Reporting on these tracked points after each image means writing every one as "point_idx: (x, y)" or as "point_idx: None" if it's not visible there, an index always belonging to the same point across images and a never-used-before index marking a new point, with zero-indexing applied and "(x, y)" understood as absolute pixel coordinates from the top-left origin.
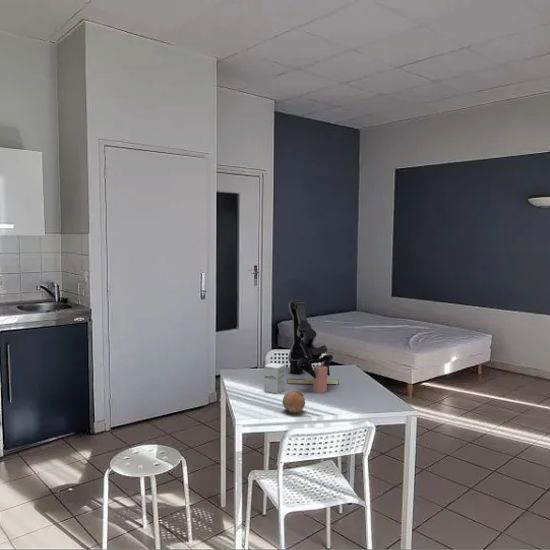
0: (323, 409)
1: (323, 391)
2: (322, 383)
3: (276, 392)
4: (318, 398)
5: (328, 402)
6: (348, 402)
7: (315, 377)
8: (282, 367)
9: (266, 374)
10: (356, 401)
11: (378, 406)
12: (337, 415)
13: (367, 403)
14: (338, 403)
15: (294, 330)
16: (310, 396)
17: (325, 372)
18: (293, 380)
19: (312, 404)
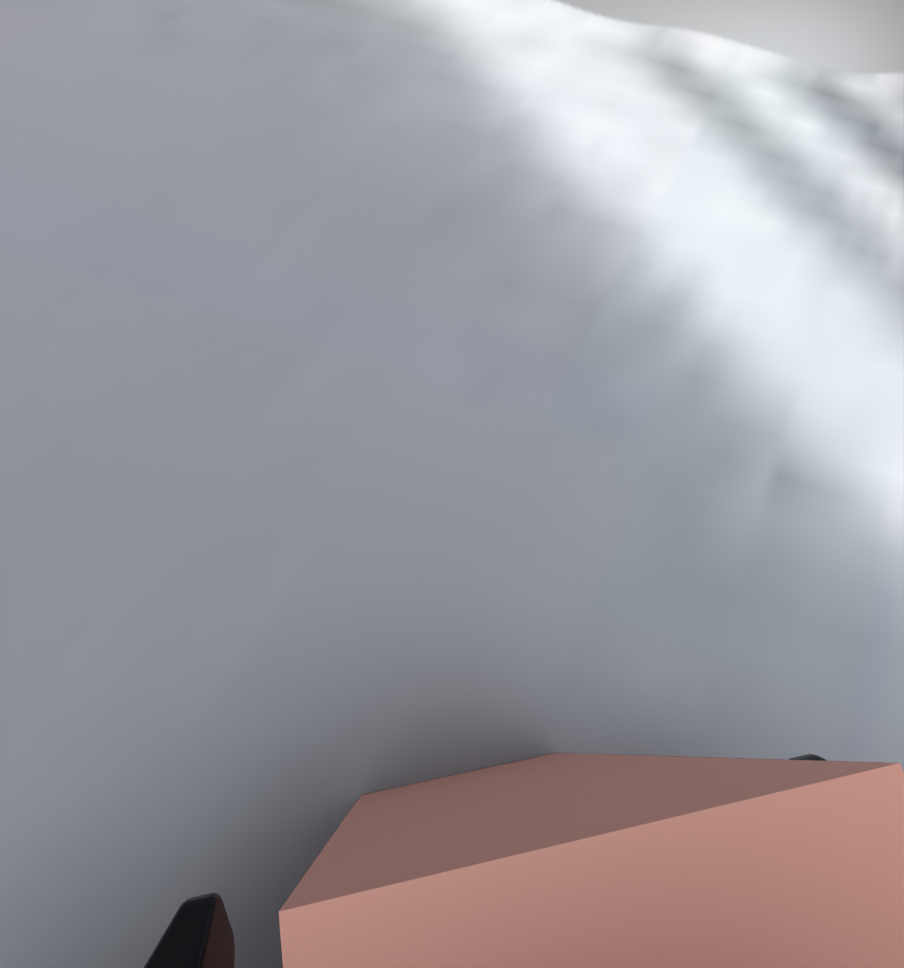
0: (726, 180)
1: (442, 778)
2: (496, 781)
3: None
4: (654, 509)
5: (580, 330)
6: (326, 249)
7: (808, 759)
8: None
9: None
10: (201, 244)
11: (81, 55)
12: (646, 36)
13: (122, 153)
14: (471, 263)
15: None
16: (748, 636)
17: (424, 830)
18: None
19: (807, 337)
